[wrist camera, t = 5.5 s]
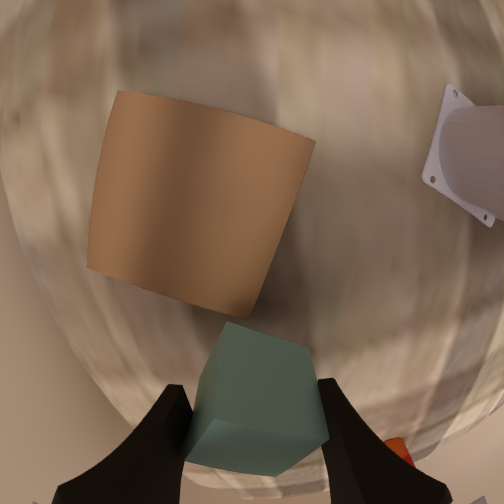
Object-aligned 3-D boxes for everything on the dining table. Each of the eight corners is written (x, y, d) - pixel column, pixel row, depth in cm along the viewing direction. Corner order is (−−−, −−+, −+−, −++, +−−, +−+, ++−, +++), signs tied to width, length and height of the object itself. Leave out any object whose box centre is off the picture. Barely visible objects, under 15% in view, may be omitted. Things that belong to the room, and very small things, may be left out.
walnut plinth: (304, 142, 14) (316, 141, 11) (249, 293, 18) (248, 320, 15) (140, 98, 13) (117, 90, 10) (108, 249, 17) (86, 267, 14)
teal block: (309, 347, 12) (329, 438, 7) (271, 396, 13) (275, 476, 9) (226, 320, 11) (213, 418, 7) (199, 376, 13) (183, 460, 8)
